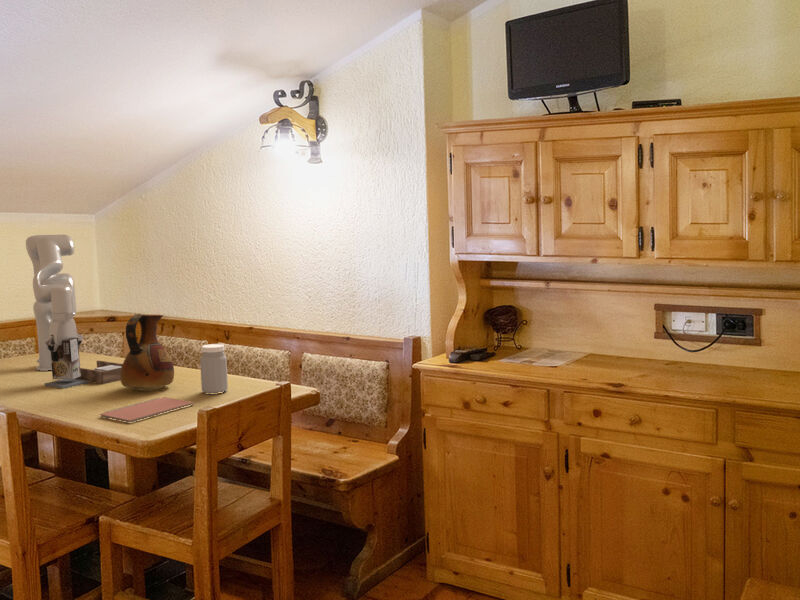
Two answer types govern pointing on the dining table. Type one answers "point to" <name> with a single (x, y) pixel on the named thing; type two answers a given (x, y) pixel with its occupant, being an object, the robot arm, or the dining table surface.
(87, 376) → the tray
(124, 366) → the ceramic pitcher
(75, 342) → the coffee box
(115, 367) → the grey offcut
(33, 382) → the dining table surface
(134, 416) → the notebook
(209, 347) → the jar
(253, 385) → the dining table surface
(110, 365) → the grey offcut
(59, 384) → the slate mat
